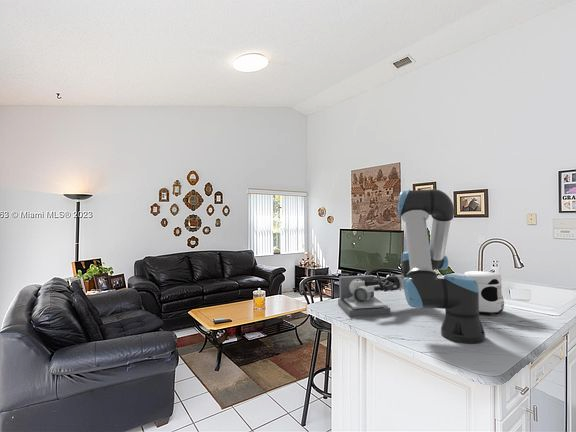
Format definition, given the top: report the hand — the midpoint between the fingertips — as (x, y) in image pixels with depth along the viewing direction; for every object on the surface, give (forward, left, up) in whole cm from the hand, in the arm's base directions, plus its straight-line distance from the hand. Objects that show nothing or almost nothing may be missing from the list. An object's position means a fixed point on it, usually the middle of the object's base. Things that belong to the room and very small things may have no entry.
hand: (360, 286), depth 162 cm
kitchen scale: (+4, -2, -12) cm, 13 cm away
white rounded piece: (-10, -57, -13) cm, 60 cm away
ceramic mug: (+2, 0, -8) cm, 8 cm away
